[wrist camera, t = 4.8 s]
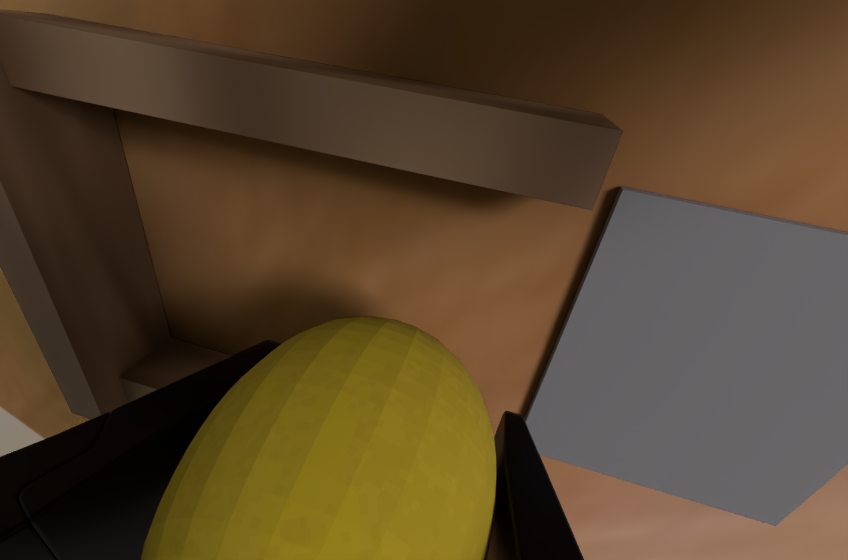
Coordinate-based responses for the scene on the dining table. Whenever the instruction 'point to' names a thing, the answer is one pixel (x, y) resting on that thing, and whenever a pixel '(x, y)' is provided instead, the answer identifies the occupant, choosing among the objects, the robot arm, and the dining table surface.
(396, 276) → the dining table surface
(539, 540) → the robot arm
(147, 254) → the shelf lane
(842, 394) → the mat
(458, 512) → the lemon
